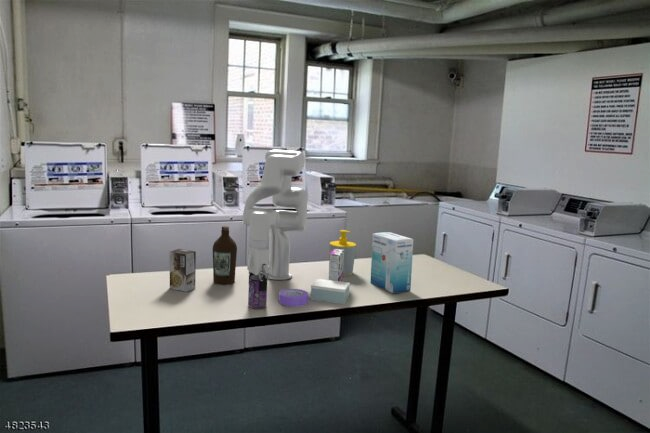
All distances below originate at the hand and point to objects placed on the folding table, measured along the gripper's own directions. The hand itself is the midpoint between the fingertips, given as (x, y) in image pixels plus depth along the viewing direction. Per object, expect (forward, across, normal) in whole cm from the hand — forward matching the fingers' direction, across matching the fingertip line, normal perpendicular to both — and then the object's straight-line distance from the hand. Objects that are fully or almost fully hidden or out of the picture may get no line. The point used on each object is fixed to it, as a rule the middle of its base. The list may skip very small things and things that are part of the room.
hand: (257, 287), depth 197 cm
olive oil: (+7, -35, -1) cm, 36 cm away
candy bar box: (+7, -10, +42) cm, 44 cm away
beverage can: (+8, -1, 0) cm, 8 cm away
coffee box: (+8, -33, -20) cm, 39 cm away
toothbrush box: (+7, -1, +66) cm, 66 cm away
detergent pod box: (+7, +2, +32) cm, 33 cm away
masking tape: (+8, -1, +16) cm, 18 cm away
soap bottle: (+7, -30, +58) cm, 66 cm away
